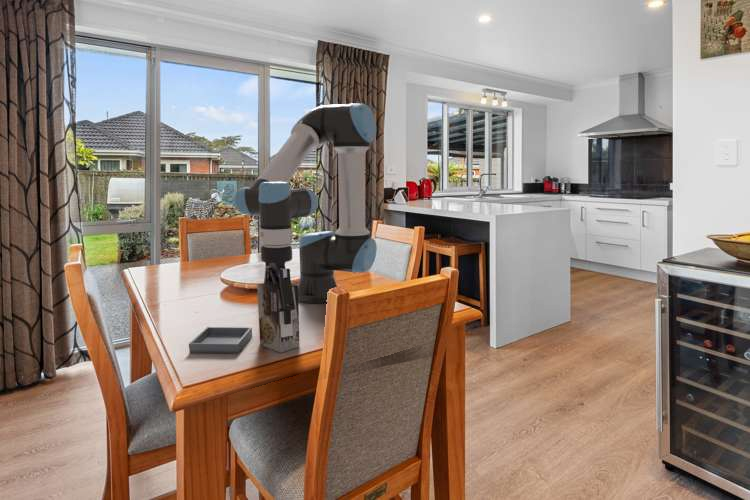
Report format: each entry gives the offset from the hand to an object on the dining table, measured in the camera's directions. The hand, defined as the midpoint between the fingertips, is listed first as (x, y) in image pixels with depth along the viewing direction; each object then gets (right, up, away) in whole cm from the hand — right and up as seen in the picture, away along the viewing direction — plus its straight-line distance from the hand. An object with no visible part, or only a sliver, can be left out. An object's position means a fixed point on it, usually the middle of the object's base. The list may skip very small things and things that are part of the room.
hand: (279, 327), depth 117 cm
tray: (-15, -5, +1) cm, 15 cm away
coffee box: (0, -5, +1) cm, 5 cm away
